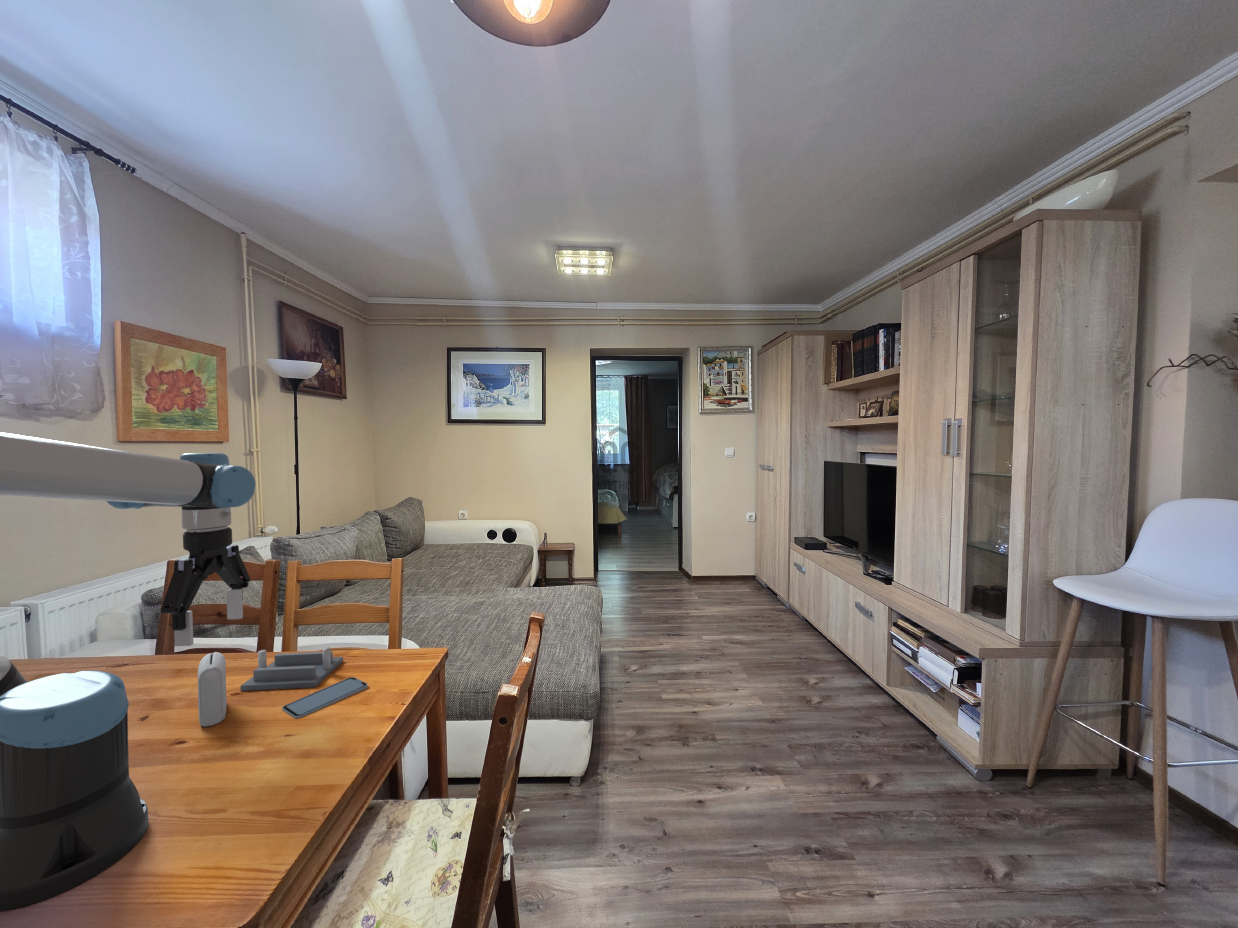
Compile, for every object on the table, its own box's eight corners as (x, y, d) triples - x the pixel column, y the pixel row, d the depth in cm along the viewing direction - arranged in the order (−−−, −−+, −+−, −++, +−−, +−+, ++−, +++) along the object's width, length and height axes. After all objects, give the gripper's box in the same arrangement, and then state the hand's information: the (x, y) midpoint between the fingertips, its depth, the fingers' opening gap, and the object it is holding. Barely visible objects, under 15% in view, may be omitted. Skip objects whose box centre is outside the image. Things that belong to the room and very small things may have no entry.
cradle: (315, 686, 107) (315, 660, 106) (240, 690, 105) (239, 663, 105) (343, 661, 120) (342, 637, 119) (276, 664, 118) (275, 640, 118)
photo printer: (200, 707, 98) (199, 650, 98) (227, 700, 101) (225, 644, 101) (197, 730, 90) (195, 668, 90) (226, 722, 93) (224, 661, 93)
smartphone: (280, 707, 98) (352, 675, 111) (280, 711, 98) (352, 679, 111) (296, 717, 94) (369, 684, 107) (296, 722, 94) (369, 688, 107)
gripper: (176, 540, 82) (180, 657, 83) (267, 518, 107) (270, 608, 108) (129, 541, 82) (134, 659, 82) (232, 519, 106) (235, 610, 107)
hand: (211, 631), depth 95 cm, fingers open, 13 cm apart
